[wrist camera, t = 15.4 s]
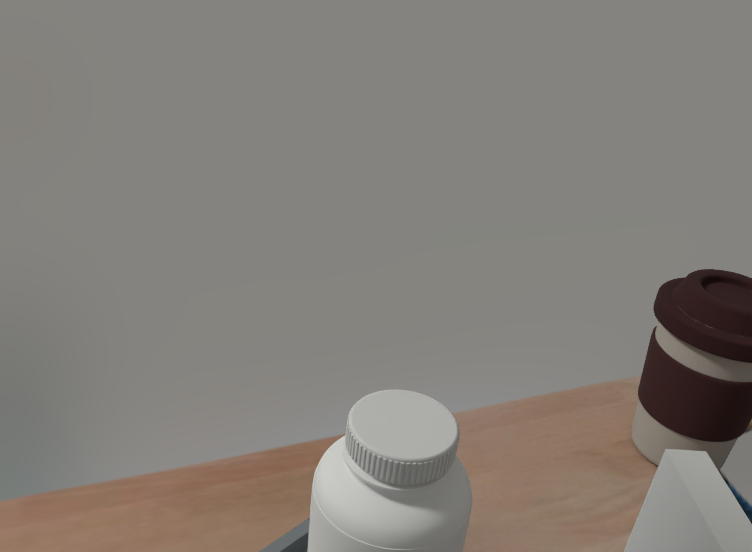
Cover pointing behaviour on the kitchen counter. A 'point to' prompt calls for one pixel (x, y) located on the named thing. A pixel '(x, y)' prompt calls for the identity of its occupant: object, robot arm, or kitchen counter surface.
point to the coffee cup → (697, 367)
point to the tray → (292, 540)
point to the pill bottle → (392, 480)
